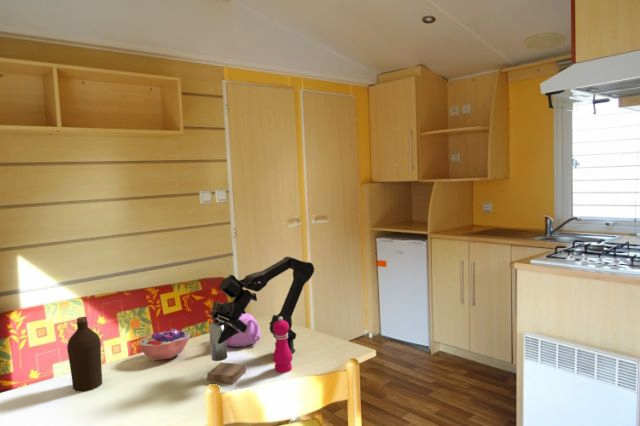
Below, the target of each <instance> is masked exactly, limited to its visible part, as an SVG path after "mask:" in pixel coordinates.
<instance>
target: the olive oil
mask: <svg viewBox="0 0 640 426" xmlns="http://www.w3.org/2000/svg"><path fill="white" fill-rule="evenodd" d="M87 319H88V317H87V316H80V317H77V318H76V328H77V329H76V330H75V332H74V333H73V334H72V335H71V337H70V338H69V339H68V342H67V346H66V347H67V348H66V349H67V354H68V355H67V356H68V361H69V362H68V363H69V368H70V374H71V382H72V389H74V390H75V392H77V391H84V392H89V391H92V390H95V389H98V388H99V387H100V386H102V384H103V370H102V366H103V365H102V341H101V339H100V336H99V334H98V333H96V332H95V331H94V330H93V329H91V328H89V325H88V320H87ZM98 386H99V387H98ZM94 388H95V389H94ZM91 389H92V390H91ZM74 390H73V391H74ZM88 390H89V391H88Z"/></svg>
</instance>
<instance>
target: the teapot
mask: <svg viewBox="0 0 640 426" xmlns="http://www.w3.org/2000/svg"><path fill="white" fill-rule="evenodd" d="M239 320H241V321H242V322H243V323H245V324H246V325H247V330H246V331H245V333H243V332H241V331H240V330H239V333H237V334H235V335H233V336H232V337H230V338H228V339H227V340H226V346H228V347H235V348H236V347H238V348H239V347H240V348H241V347H245V346H246V347H247V346H250V345H253V344H255V343H256V342H257V341H259V340H260V339H261V335H262V333H261V332H262V331H261V327H260V326H259V323H258V321H257V320H256V319H255V317H254V316H253V315H252V314H250V313H248V312H246V313H245V314H242V315H241V316H240V318H239ZM227 324H229V323H227Z"/></svg>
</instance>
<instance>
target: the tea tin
mask: <svg viewBox="0 0 640 426" xmlns="http://www.w3.org/2000/svg"><path fill="white" fill-rule="evenodd" d="M224 329H225V323H224V322H215V323H214V322H211V323H210V324H208V330H209V331H208V333H209V343H210V358H211V360H212V361H213V362H221V361H224V360H226V359H228V351H227V349H228V348H227V345H226V340H225V341H224V342H222V343H221V344H219V343H218V340H219V338H220V336H221V334H222V333H223V331H224Z"/></svg>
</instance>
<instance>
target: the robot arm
mask: <svg viewBox="0 0 640 426" xmlns="http://www.w3.org/2000/svg"><path fill="white" fill-rule="evenodd" d="M289 269H290V270H293V271H292V277H293V278H292V279H293V280H292V283H291V285H290V287H289V290H288V292H287V295H286V297H285V299H284V301H283V305H282V307H281V309H280V312H279V313H278V314H273V315H272V317H271V321H270V322H269V331H270V333H271V335H273V338H275V332H274V331H273V325H274V323H275V322H276V321H279V320H278V317H280V316H281V317H282V318H283V320H284V321H286V322H287V323H288V324H289V330H288V332H287V333H288V338H287V343H288V346H289V348H290V350H291V353H292V355H293V354H294V353H295V352H296V349H294V348H295V347H294V345H295V344H294V340H296V337H297V333H296V332H295V331H293V330H292V327H293V320H292V317H293V314H294V311H295V309H296V306H297V303H298V301H299V299H300V297H301V293H302V291H303V289H304V287H305V284H306V283H307V282H309V281H310V280H311V278H312V277H313V275H314V272H315V266H314V265H313V263H312V262H309V261H303V260H300V259H297V258H295V257H293V256H285V257H284V258H282V259H281V260H279V261H277V262H275V263H274V264H272V265H271V266H269V267H267V268H265V269H263V270H261V271H256V272H253V273H250V274H246V276H244V278H242V279H240V280H239V279H238V278H237V277H235V275H233V274H229V275H228V276H227V277H225V278H224V279H223V280H222V281H220V284H219V286H218V288H219V290H220V291H222V292H223V293H224V294H225V295H227V296H228V297H229V298H230V299H232V301H228V302H226V301H224V302H223V303H221V302H218V301H213V304H212V306H211V312H210V313H209V316H210V317H212V320H213V323H215V322H224V323H225V329H224V331H223V333H222V334H221V336H220V338H219V340H218V343H219V344H221V343H222V342H224V341H225V340H227V339H228V338H230V337H232V336H233V335H235V334H237V333H239V330H240V331H241V332H243V333H245V331H246V330H247V325H246V324H245V323H243V322H242V321H241V320H239V318H240V316H241V315H242V314H245V313H247V312H246V309H247V308H248V305H249V304H250V303H251V301H254V302H257V301H258V297H257V293H255V292H260V291H262V290H263V288H265V287H266V286H267V285H268V283H269V282H270V281H271V280H273V279H274V278H275V277H278V276H279V275H281V274H282V273H284V272H286V271H288V270H289ZM251 291H252V292H251ZM227 323H229V324H227ZM274 343H275V345H274V346H275V348H276V341H275V342H274ZM275 348H274V349H275Z"/></svg>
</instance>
